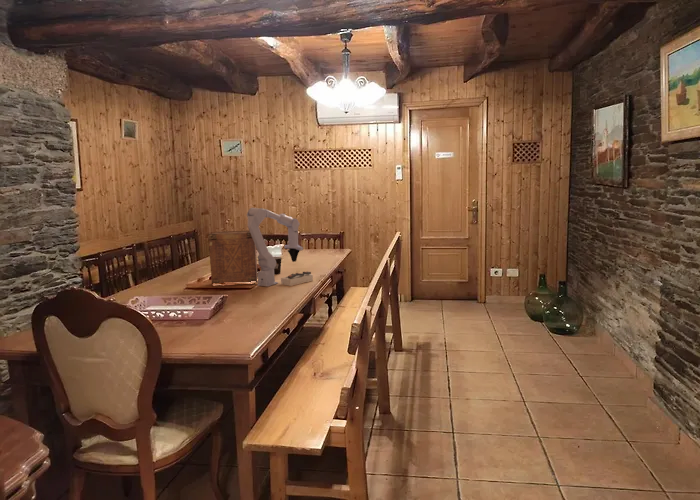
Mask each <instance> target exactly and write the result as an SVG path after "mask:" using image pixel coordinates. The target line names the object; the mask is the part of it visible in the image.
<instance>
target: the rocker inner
mask: <svg viewBox="0 0 700 500" xmlns="http://www.w3.org/2000/svg"><path fill="white" fill-rule="evenodd" d="M287 277H288V278H290V279H292V278H294V277H296V273H292V274H289V275H288V276H287Z"/></svg>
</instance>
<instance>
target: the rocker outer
mask: <svg viewBox="0 0 700 500" xmlns="http://www.w3.org/2000/svg"><path fill="white" fill-rule="evenodd" d="M302 273H303V274H311V275H312V271H308V270H307V271H302Z"/></svg>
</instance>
